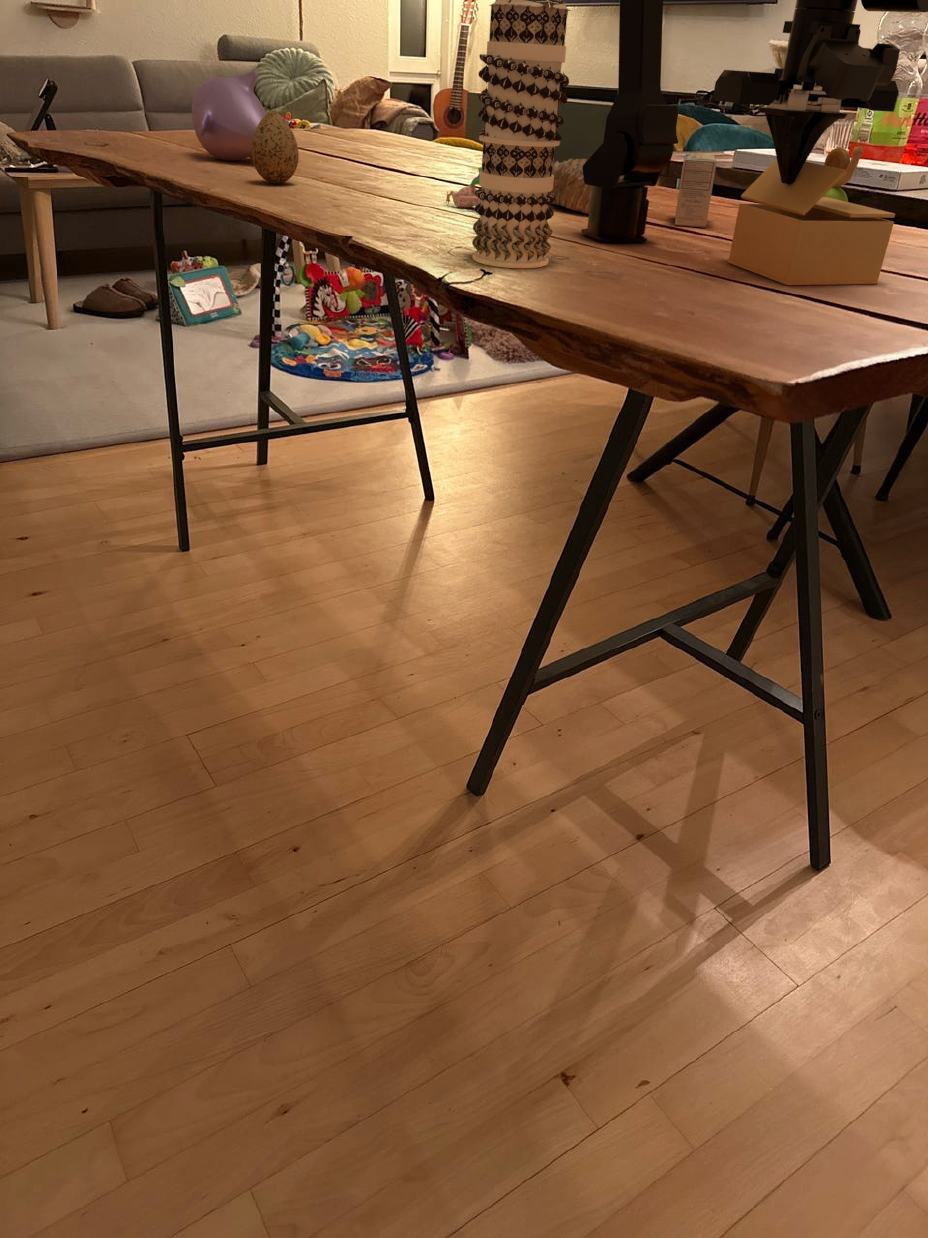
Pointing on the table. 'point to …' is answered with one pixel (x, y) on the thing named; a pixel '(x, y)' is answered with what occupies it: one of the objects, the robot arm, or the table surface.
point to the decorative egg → (274, 149)
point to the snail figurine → (842, 161)
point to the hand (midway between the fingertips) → (787, 183)
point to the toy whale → (227, 115)
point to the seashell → (571, 185)
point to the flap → (794, 187)
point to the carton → (812, 243)
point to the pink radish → (466, 194)
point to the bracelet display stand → (520, 131)
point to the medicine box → (695, 190)
